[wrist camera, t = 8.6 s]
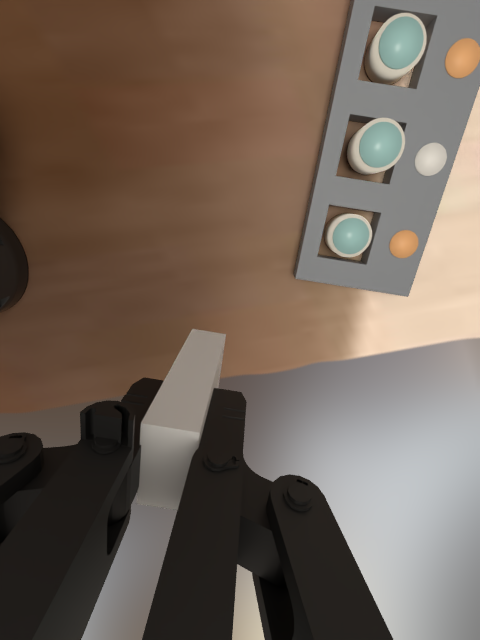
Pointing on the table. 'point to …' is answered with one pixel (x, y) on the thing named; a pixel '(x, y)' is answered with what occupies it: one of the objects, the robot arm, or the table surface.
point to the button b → (376, 146)
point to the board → (419, 152)
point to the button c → (395, 48)
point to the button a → (348, 234)
